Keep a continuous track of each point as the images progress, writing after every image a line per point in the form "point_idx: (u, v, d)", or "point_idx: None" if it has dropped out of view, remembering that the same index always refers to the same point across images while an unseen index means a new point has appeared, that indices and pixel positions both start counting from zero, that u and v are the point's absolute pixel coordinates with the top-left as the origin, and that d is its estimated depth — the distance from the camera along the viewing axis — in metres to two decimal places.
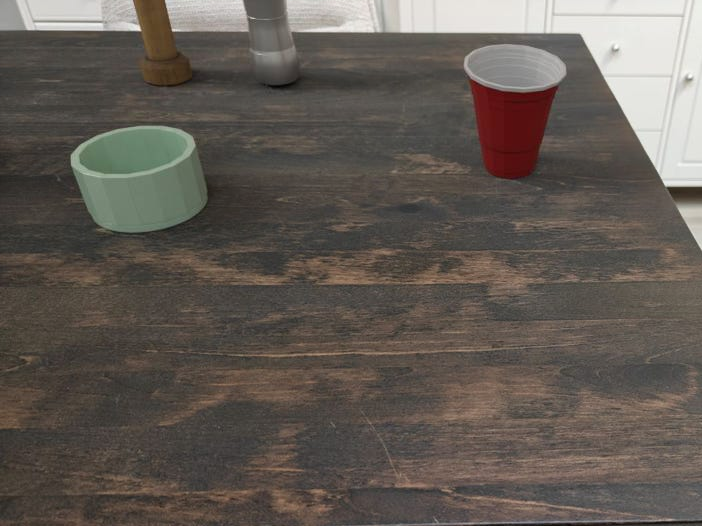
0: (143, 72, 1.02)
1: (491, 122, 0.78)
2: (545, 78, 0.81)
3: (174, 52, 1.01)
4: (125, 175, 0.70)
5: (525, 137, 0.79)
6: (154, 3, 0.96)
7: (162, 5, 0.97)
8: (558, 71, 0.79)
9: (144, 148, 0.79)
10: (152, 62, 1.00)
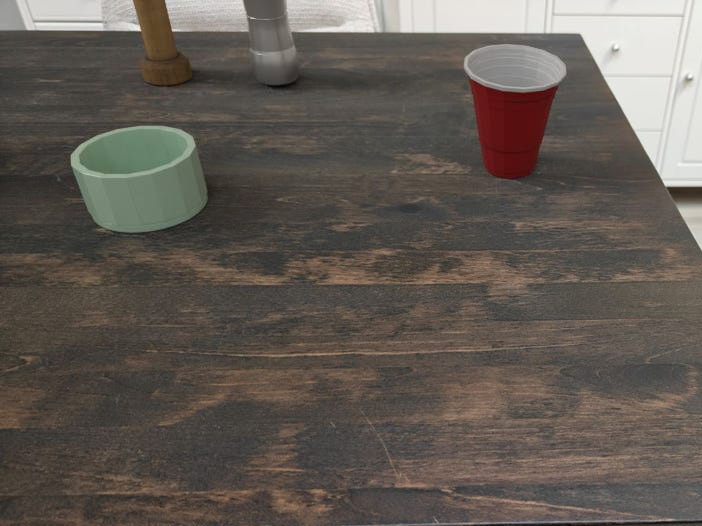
0: (143, 72, 1.02)
1: (491, 122, 0.78)
2: (545, 78, 0.81)
3: (174, 52, 1.01)
4: (125, 175, 0.70)
5: (525, 137, 0.79)
6: (154, 3, 0.96)
7: (162, 5, 0.97)
8: (558, 71, 0.79)
9: (144, 148, 0.79)
10: (152, 62, 1.00)
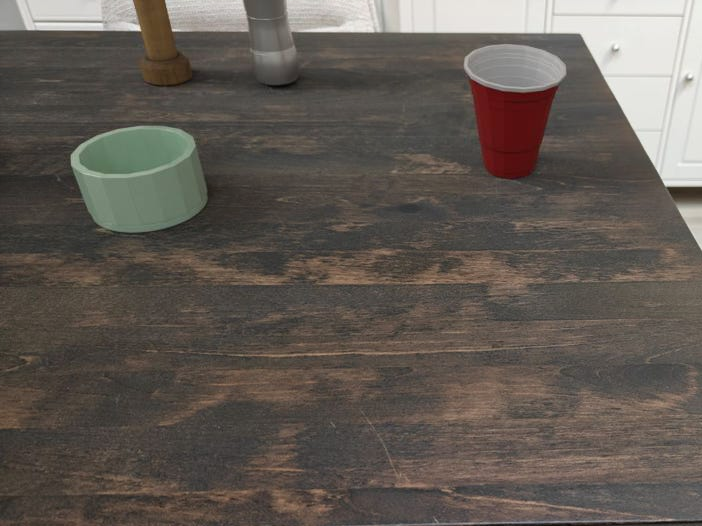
0: (143, 72, 1.02)
1: (491, 122, 0.78)
2: (545, 78, 0.81)
3: (174, 52, 1.01)
4: (125, 175, 0.70)
5: (525, 137, 0.79)
6: (154, 3, 0.96)
7: (162, 5, 0.97)
8: (558, 71, 0.79)
9: (144, 148, 0.79)
10: (152, 62, 1.00)
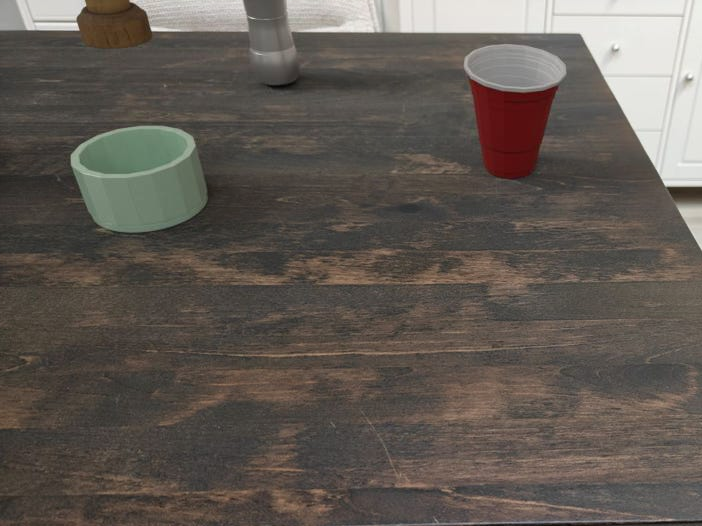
0: (81, 30, 0.72)
1: (491, 122, 0.78)
2: (545, 78, 0.81)
3: (125, 3, 0.72)
4: (125, 175, 0.70)
5: (525, 137, 0.79)
6: None
7: None
8: (558, 71, 0.79)
9: (144, 148, 0.79)
10: (93, 15, 0.71)
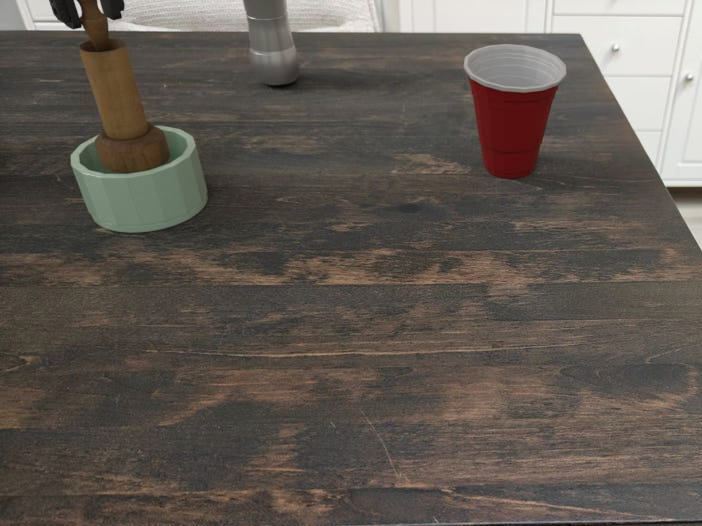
0: (99, 154, 0.72)
1: (491, 122, 0.78)
2: (545, 78, 0.81)
3: (143, 127, 0.72)
4: (125, 175, 0.70)
5: (525, 137, 0.79)
6: (112, 61, 0.67)
7: (124, 63, 0.68)
8: (558, 71, 0.79)
9: None
10: (112, 141, 0.71)
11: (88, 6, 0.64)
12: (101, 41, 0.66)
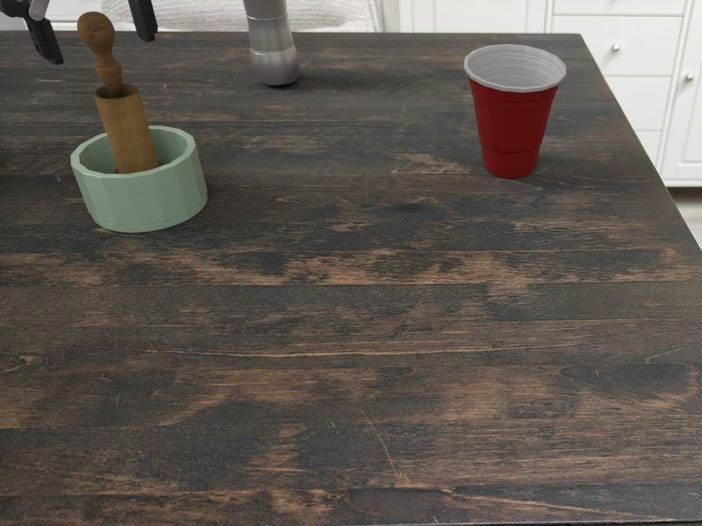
0: None
1: (491, 122, 0.78)
2: (545, 78, 0.81)
3: (155, 167, 0.75)
4: (125, 175, 0.70)
5: (525, 137, 0.79)
6: (126, 107, 0.70)
7: (137, 108, 0.71)
8: (558, 71, 0.79)
9: None
10: None
11: (103, 55, 0.67)
12: (115, 88, 0.69)
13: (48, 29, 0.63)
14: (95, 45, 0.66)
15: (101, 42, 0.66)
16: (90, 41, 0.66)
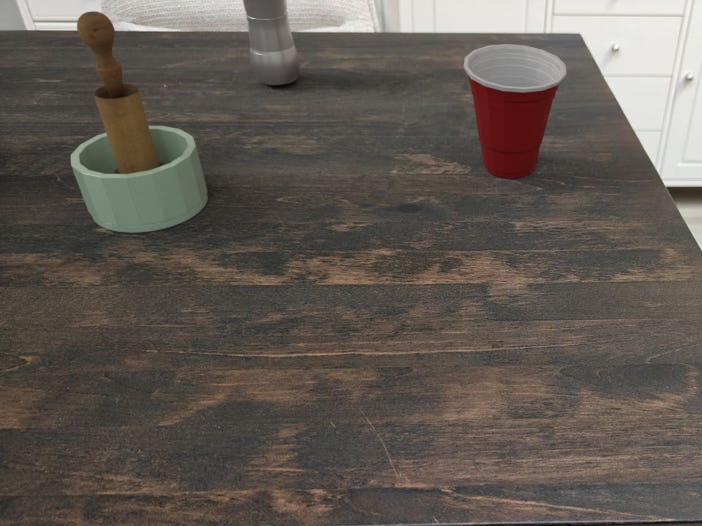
0: None
1: (491, 122, 0.78)
2: (545, 78, 0.81)
3: (155, 167, 0.75)
4: (125, 175, 0.70)
5: (525, 137, 0.79)
6: (126, 107, 0.70)
7: (137, 108, 0.71)
8: (558, 71, 0.79)
9: None
10: None
11: (103, 55, 0.67)
12: (115, 88, 0.69)
13: None
14: (95, 45, 0.66)
15: (101, 42, 0.66)
16: (90, 41, 0.66)
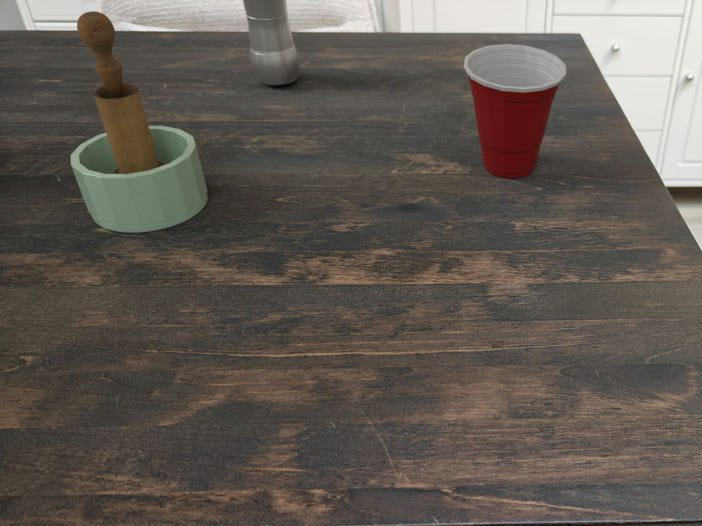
0: None
1: (491, 122, 0.78)
2: (545, 78, 0.81)
3: (155, 167, 0.75)
4: (125, 175, 0.70)
5: (525, 137, 0.79)
6: (126, 107, 0.70)
7: (137, 108, 0.71)
8: (558, 71, 0.79)
9: None
10: None
11: (103, 55, 0.67)
12: (115, 88, 0.69)
13: None
14: (95, 45, 0.66)
15: (101, 42, 0.66)
16: (90, 41, 0.66)
